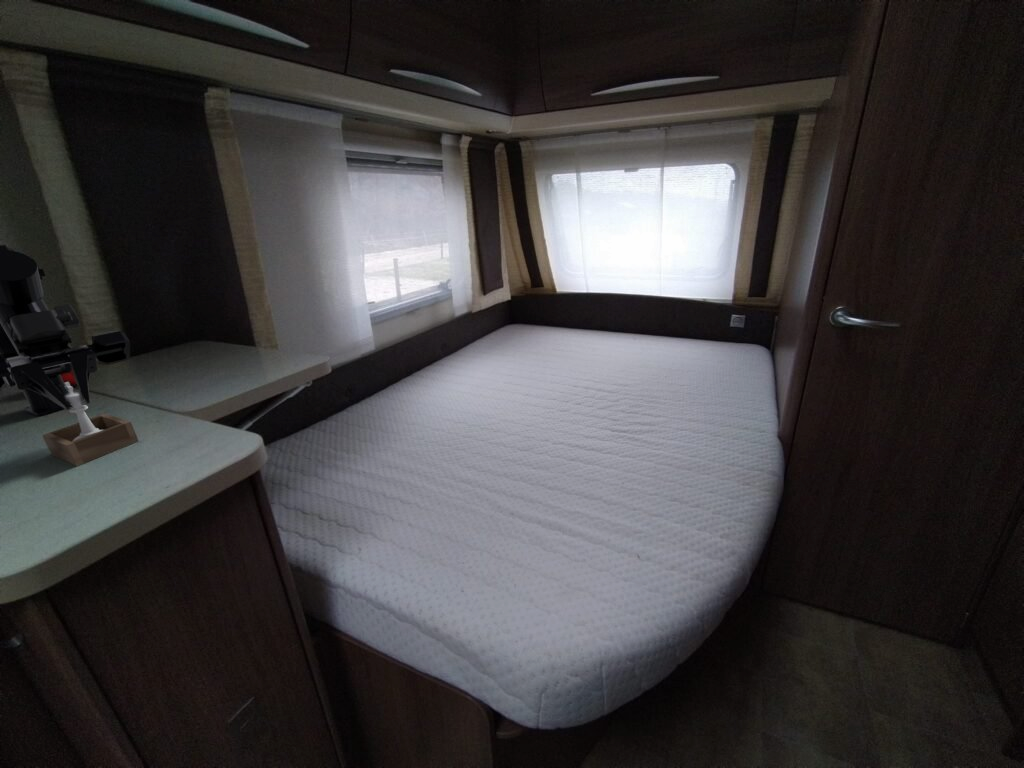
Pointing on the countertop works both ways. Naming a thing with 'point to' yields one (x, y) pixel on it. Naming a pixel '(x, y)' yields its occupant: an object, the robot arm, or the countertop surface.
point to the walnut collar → (91, 440)
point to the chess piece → (79, 412)
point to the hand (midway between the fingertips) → (78, 405)
